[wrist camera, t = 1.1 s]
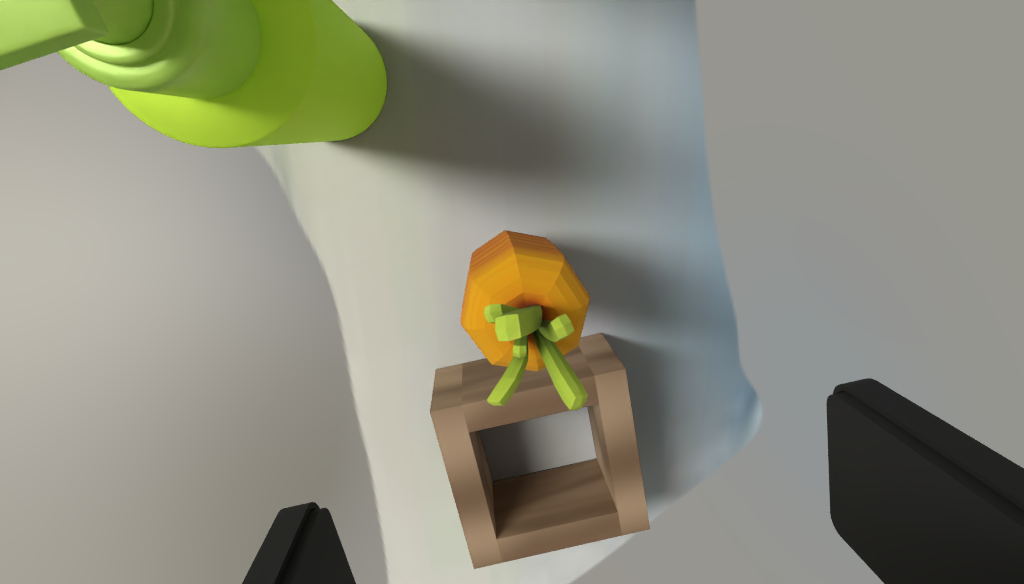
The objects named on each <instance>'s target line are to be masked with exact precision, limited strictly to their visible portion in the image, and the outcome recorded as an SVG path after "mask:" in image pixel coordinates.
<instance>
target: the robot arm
mask: <svg viewBox="0 0 1024 584" xmlns="http://www.w3.org/2000/svg"><path fill="white" fill-rule="evenodd" d="M827 428H828V458H829V487H830V513H831V519H832V522H833V524H834V527H835V529H836V530H837V532H838V534H839V535H840V536H841V537H842V538H843V539H844V541H845V542H846V543H847V544H848V545H849V546H850V547H851V548H852V549H853V550H854V551H855V552H856V553H857V555H858V556H860V558H861V559H862V560H863V561H864V562H865V563H866V564H867V565H868V566H869V567H870V568H871V570H872V571H873V572H874V573H875V574H876V575H877V576H878V577H879V578H880V579H881V580H882V581H883V582H884V584H1024V468H1022V467H1020V466H1018V465H1017V464H1015V463H1013V462H1012V461H1010V460H1008V459H1007V458H1005V457H1003V456H1002V455H1000V454H998V453H997V452H995V451H993V450H992V449H990V448H988V447H987V446H985V445H983V444H982V443H980V442H978V441H977V440H975V439H973V438H972V437H970V436H968V435H966V434H965V433H963V432H962V431H960V430H958V429H956V428H955V427H953V426H951V425H950V424H948V423H946V422H945V421H943V420H941V419H940V418H938V417H936V416H935V415H933V414H931V413H930V412H928V411H926V410H925V409H923V408H921V407H920V406H918V405H916V404H915V403H913V402H911V401H910V400H908V399H906V398H904V397H903V396H901V395H899V394H898V393H896V392H894V391H893V390H891V389H890V388H888V387H886V386H884V385H883V384H881V383H879V382H878V381H876V380H873V379H863V380H858V381H854V382H849V383H845V384H840V385H838V386H836V387H835V389H834V392H833V395H830V396H829V397H828V399H827ZM242 584H356V583H355V580H354V577H353V575H352V572H351V569H350V566H349V564H348V561H347V558H346V555H345V552H344V550H343V547H342V544H341V542H340V539H339V536H338V533H337V530H336V528H335V525H334V522H333V519H332V517H331V514H330V512H329V510H328V509H327V508H322V509H320V508H319V506H318V505H317V504H316V503H314V502H311V503H307V504H302V505H298V506H293V507H288V508H284V509H282V510H280V511H279V513H278V515H277V517H276V518H275V520H274V522H273V524H272V526H271V528H270V530H269V532H268V534H267V536H266V538H265V540H264V542H263V544H262V546H261V548H260V550H259V551H258V553H257V555H256V557H255V559H254V561H253V563H252V566H251V567H250V569H249V571H248V573H247V575H246V577H245V579H244V581H243V583H242Z"/></svg>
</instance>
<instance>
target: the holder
mask: <svg viewBox="0 0 1024 584" xmlns="http://www.w3.org/2000/svg"><path fill="white" fill-rule="evenodd" d="M564 357H565V359H566V360H567V362H568V363H569V365H570V367H571V368H572V370H573V371H574V373H575V374H576V376H577V377H578V379H579V380H580V382H581V383H582V385H583V386H584V388H585V390H586V392H587V394H588V396H587V400H586V402H585V404H584V405H583V407H586V406H587V407H588V412H589V418H590V423H591V429H592V435H593V440H594V446H595V451H596V457H597V459H593V460H589V461H584V462H580V463H575V464H571V465H566V466H562V467H557V468H553V469H548V470H544V471H539V472H535V473H531V474H526V475H522V476H517V477H513V478H508V479H504V480H499V481H495V482H492V478H491V474H490V470H489V466H488V463H487V459H486V455H485V451H484V447H483V443H482V439H481V435H480V431H479V430H483V429H487V428H492V427H496V426H501V425H505V424H510V423H514V422H519V421H523V420H528V419H532V418H537V417H541V416H546V415H550V414H555V413H559V412H564V411H568V410H569V408H568V407H567V406H566V404H565V403H564V402H563V400H562V398H561V397H560V395H559V393H558V391H557V389H556V388H555V386H554V383H553V381H552V379H551V377H550V375H549V372H548V370H547V368H546V367H545V368H543V369H542V370H540V371H539V372H538V371H531V370H525V371H524V374H523V376H522V378H521V381H520V383H519V385H518V387H517V389H516V390H515V392H514V393H513V395H512V396H511V398H510V399H509V400H508V402H507V403H506V404H505V405H504V406H494V405H492V404H490V403H488V402H487V399H488V397H489V396H490V394H491V392H492V391H493V389H494V388H495V386H496V385H497V384H498V382H499V381H500V379H501V378H502V376H503V374H504V373H505V371H506V369H507V368H508V367H505V366H498V365H492V364H491V363H490V362H489V361H488V359H487V358H486V359H481V360H477V361H472V362H468V363H463V364H459V365H454V366H449V367H445V368H440V369H436V372H435V379H434V387H433V394H432V401H431V409H430V414H431V417H432V421H433V424H434V428H435V432H436V435H437V439H438V442H439V446H440V449H441V453H442V456H443V460H444V464H445V467H446V471H447V474H448V478H449V481H450V485H451V488H452V492H453V496H454V499H455V503H456V506H457V510H458V513H459V517H460V520H461V524H462V527H463V531H464V535H465V538H466V542H467V545H468V549H469V552H470V556H471V559H472V563H473V567H474V569H476V568H481V567H485V566H489V565H494V564H498V563H503V562H507V561H511V560H516V559H520V558H525V557H529V556H533V555H538V554H542V553H547V552H551V551H556V550H560V549H564V548H569V547H573V546H578V545H582V544H586V543H591V542H595V541H600V540H604V539H608V538H613V537H617V536H622V535H626V534H630V533H635V532H639V531H644V530H648V529H650V526H649V520H648V513H647V506H646V500H645V493H644V487H643V480H642V474H641V467H640V460H639V454H638V447H637V441H636V434H635V428H634V421H633V414H632V408H631V401H630V395H629V388H628V381H627V375H626V369H625V367H624V366H623V364H622V363H621V361H620V360H619V358H618V357H617V355H616V354H615V352H614V351H613V349H612V348H611V346H610V345H609V343H608V342H607V340H606V339H605V337H604V336H603V334H602V333H599V334H595V335H590V336H586V337H581V338H580V341H579V345H578V347H576V348H575V349H573V350H571V351H570V352H568V353H567V354H565V355H564Z"/></svg>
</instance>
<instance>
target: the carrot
mask: <svg viewBox="0 0 1024 584" xmlns="http://www.w3.org/2000/svg"><path fill="white" fill-rule="evenodd" d="M589 301H590V296H589V294H588V292H587V291H586V289H585V288H584V286H583V285H582V283H581V282H580V280H579V278H578V277H577V275H576V274H575V272H574V271H573V269H572V268H571V266H570V265H569V263H568V262H567V260H566V259H565V257H564V255H563V254H562V253H561V252H560V251H559V250H558V249H557V248H556V247H555V245H554V244H552V243H551V242H550V241H549V240H547V239H546V238H543V237H538V236H533V235H528V234H522V233H517V232H511V231H506V230H505V231H503V232H502V233H500V234H499V235H497V236H496V237H494V238H493V239H491V240H490V241H488V242H487V243H485V244H484V245H482V246H481V247H479V248H478V249H477V250H475V251H474V252H473V253H472V257H471V262H470V267H469V272H468V278H467V283H466V289H465V294H464V300H463V305H462V314H461V325H462V326H463V328H464V329H465V330H466V332H467V333H468V334H469V336H470V337H471V338H472V340H473V341H474V342H475V344H476V345H477V346H478V348H479V349H480V350H481V351H482V353H483V354H484V355H485V357H486V358H487V359H488V361H489V362H490V363H491V364H492V365H498V366H505V367H508V368H507V369H506V371H505V373H504V374H503V376H502V378H501V379H500V381H499V382H498V384H497V385H496V386H495V388H494V389H493V391H492V392H491V394H490V396H489V397H488V399H487V402H488V403H490V404H492V405H494V406H504V405H505V404H506V403H507V402H508V400H509V399H510V398H511V396H512V395H513V393H514V392H515V390H516V389H517V387H518V385H519V383H520V381H521V378H522V376H523V374H524V371H525V370H531V371H538V372H539V371H540V370H542V369H543V368H545V367H546V368H547V370H548V372H549V375H550V377H551V379H552V381H553V383H554V386H555V388H556V389H557V391H558V393H559V395H560V397H561V398H562V400H563V402H564V403H565V404H566V406H567V407H568V408H569V410H578V409H580V408H582V407H583V405H584V404H585V402H586V400H587V396H588V394H587V392H586V390H585V388H584V386H583V385H582V383H581V382H580V380H579V379H578V377H577V376H576V374H575V373H574V371H573V370H572V368H571V367H570V365H569V363H568V362H567V360H566V359H565V357H564V355H565V354H567V353H568V352H570V351H571V350H573V349H575V348H576V347H578V345H579V341H580V337H581V333H582V329H583V325H584V321H585V317H586V313H587V309H588V305H589Z"/></svg>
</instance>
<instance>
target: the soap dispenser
mask: <svg viewBox="0 0 1024 584" xmlns="http://www.w3.org/2000/svg"><path fill="white" fill-rule="evenodd" d="M54 52H58V54H59V55H60V56H61V57H62V58H64V59H65V60H66V61H67V62H68V63H69V64H70V65H71V66H73V67H74V68H75V69H77V70H78V71H80V72H81V73H83V74H85V75H86V76H88V77H90V78H92V79H94V80H96V81H98V82H100V83H103V84H106V85H108V87H109V88H110V90H111V91H112V92H113V93H114V95H115V96H116V97H117V98H118V99H119V100H120V102H121V103H122V104H123V105H124V106H125V107H126V108H127V109H128V110H130V112H132V113H133V114H134V115H135V116H136V117H138V118H139V119H140V120H141V121H143V122H144V123H146V124H147V125H149V126H150V127H152V128H153V129H155V130H157V131H159V132H161V133H162V134H164V135H167V136H169V137H171V138H173V139H176V140H178V141H181V142H184V143H188V144H192V145H197V146H202V147H209V148H230V147H246V146H262V145H278V144H293V143H309V142H324V141H339V140H345V139H348V138H351V137H354V136H356V135H358V134H360V133H361V132H363V131H364V130H366V129H367V128H368V127H369V126H370V125H371V124H372V123H373V122H374V121H375V120H376V118H377V117H378V115H379V113H380V112H381V110H382V107H383V105H384V102H385V98H386V92H387V75H386V69H385V65H384V62H383V59H382V57H381V54H380V52H379V51H378V49H377V47H376V45H375V44H374V42H373V41H372V40H371V39H370V37H369V36H368V35H367V34H366V33H365V32H364V31H363V30H362V29H361V28H360V27H359V26H358V25H357V24H356V23H355V22H354V21H353V20H352V19H351V18H349V17H348V16H347V15H346V14H345V13H344V12H343V11H342V10H341V9H340V8H339V7H338V6H337V5H336V4H335V3H334V2H333V1H332V0H0V70H2V69H6V68H9V67H12V66H15V65H18V64H21V63H24V62H27V61H30V60H33V59H36V58H39V57H42V56H45V55H48V54H51V53H54Z"/></svg>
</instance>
